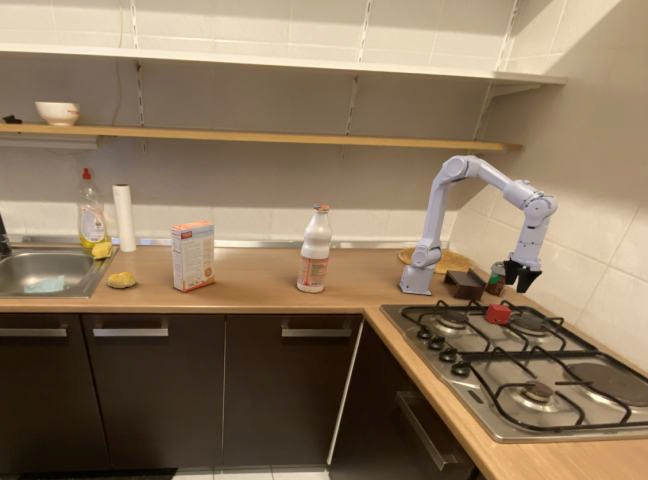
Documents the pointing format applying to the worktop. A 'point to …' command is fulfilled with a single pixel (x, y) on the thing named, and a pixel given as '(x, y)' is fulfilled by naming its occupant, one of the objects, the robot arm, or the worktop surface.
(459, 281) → the dark brown storage bin
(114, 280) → the bread roll
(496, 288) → the food container
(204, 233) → the cracker box
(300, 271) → the fruit juice
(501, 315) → the block
